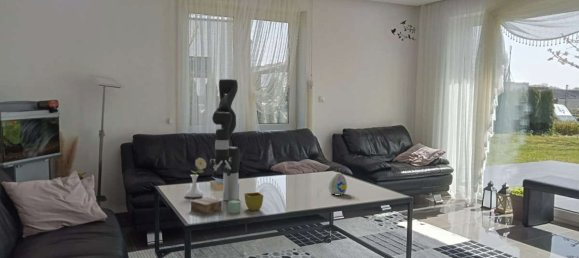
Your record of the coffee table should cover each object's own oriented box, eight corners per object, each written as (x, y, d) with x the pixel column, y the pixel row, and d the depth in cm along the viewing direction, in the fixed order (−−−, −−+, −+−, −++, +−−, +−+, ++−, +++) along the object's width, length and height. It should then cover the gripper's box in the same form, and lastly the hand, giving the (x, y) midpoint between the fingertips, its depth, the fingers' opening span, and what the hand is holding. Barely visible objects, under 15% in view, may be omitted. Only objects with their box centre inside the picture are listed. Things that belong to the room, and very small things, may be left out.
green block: (233, 210, 250) (234, 200, 249) (240, 211, 247) (240, 201, 246) (227, 212, 246) (227, 201, 245) (234, 213, 243) (234, 203, 242)
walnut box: (207, 207, 255) (207, 197, 255) (221, 211, 248) (221, 201, 247) (190, 211, 246) (190, 200, 245) (205, 215, 238) (205, 204, 238)
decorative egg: (334, 197, 288) (335, 174, 287) (324, 193, 299) (325, 171, 298) (349, 195, 294) (350, 173, 292) (339, 191, 305) (340, 170, 303)
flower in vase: (187, 199, 270) (187, 159, 268) (183, 195, 281) (183, 156, 278) (207, 197, 276) (208, 158, 274) (203, 193, 286) (203, 156, 284)
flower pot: (248, 212, 246) (249, 196, 246) (243, 208, 254) (244, 193, 254) (263, 210, 250) (263, 195, 249) (257, 207, 258) (258, 192, 257)
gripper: (229, 146, 249) (229, 174, 250) (207, 147, 240) (206, 176, 241) (236, 147, 243) (236, 176, 244) (213, 149, 234) (213, 179, 236)
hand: (221, 176), depth 243 cm, fingers open, 8 cm apart
